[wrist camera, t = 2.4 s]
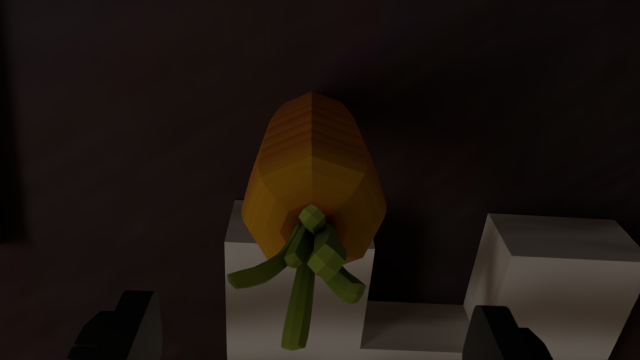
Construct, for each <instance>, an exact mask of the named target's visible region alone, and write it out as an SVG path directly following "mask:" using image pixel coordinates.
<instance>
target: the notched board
mask: <svg viewBox="0 0 640 360" xmlns="http://www.w3.org/2000/svg"><path fill="white" fill-rule="evenodd" d="M243 201H244V200H235V202H234V206H233V210H232V214H231V218H230V222H229V227H228V231H227V235H226V239H225V278H226V323H227V360H462V351H463V346H464V342H465V339H466V335H467V331H468V328H469V324H470V320H471V317H472V313H473V310H474V308H475V306H476V305H491V306H507V307H508V308H509V309H510V311H511V313H512V315H513V317H514V319H515V321H516V323H517V325H518V327H523V328H529V329H530V330H531V331H532V332H533V333H534V334H535V335H536V336H538V337H539V338H540V339H541V340H542V341H543V342H544V343H545V345H546V347H547V349H548V351H549V352H550V354H551V356H552V358H553V360H608V358H609V356H610V354H611V351H612V349H613V347H614V345H615V343H616V341H617V339H618V337H619V335H620V333H621V331H622V329H623V327H624V325H625V323H626V320H627V318H628V316H629V314H630V312H631V310H632V308H633V306H634V304H635V302H636V300H637V298H638V296H639V294H640V247H639V246H638V245H637V244H636V243H635V242H634V240H633V239H632V238H631V237H630V236H629V235H628V234H627V233H626V232H625V231H624V230H623V229H622V227H621V226H620V225H619V224H618V223H617V222H616V221H615V220H606V219H587V218H568V217H549V216H531V215H512V214H493V213H488V216H487V219H486V223H485V227H484V230H483V234H482V238H481V241H480V245H479V249H478V253H477V256H476V260H475V264H474V267H473V271H472V275H471V278H470V282H469V286H468V289H467V293H466V297H465V300H464V304H463V305H451V304H429V303H406V302H383V301H367V299H368V292H369V286H370V279H371V272H372V266H373V259H374V253H375V246H374V241H373V240H372V242H371V244H370V246H369V248H368V249H367V251H366V253H365V255H364V257H363V258H361V259H358V260H355V261H353V262H350V263H347V264H344V265H342V266H343V267H344V268H345V269H346V270H347V271H348V272H349V273H351V274H352V275H353V276H355V277H356V278H358V279H359V280H360V281H361V282H363V283H364V284H365V285H366V288H365V291H364V294H363V296H362V297H361V299H360V300H359V301H358V302H357V303H354V304H349V303H346V302H343V301H342V300H341V299H340V298H339V297H337V296H336V295H335V294H334V293H333V292H332V291H331V289H330V288H329V287H328V286H327V284H326V283H325V282H324V280H323V279H322V278H320V277H319V276H317V275H316V274H315V284H314V294H313V304H312V314H311V322H310V329H309V335H308V339H307V343H306V347H305V348H303V349H298V350H294V351H291V350H286V349H283V348H282V347H281V341H282V333H283V328H284V323H285V319H286V314H287V310H288V305H289V301H290V296H291V292H292V288H293V283H294V279H295V274H296V270H297V269H295V268H291V267H288V266H287V267H286V268H285V269H284V270H282V271H281V272H280V273H279V274H278V275H276V276H275V277H273V278H272V279H270V280H269V281H268V282H266V283H263V284H260V285H257V286H253V287H250V288H242V289H235V288H234V287H233V286H232V285H231V284H230V283H229V281H228V278H227V274H230V273H233V272H237V271H240V270H244V269H248V268H252V267H255V266H257V265H259V264H261V263H263V262H265V261H267V258H266V257H265V255H264V254H263V252H262V250H261V249H260V247H259V246H258V244H257V242H256V241H255V239H254V238H253V236H252V234H251V233H250V231H249V230H248V228H247V226H246V225H245V223H244V222H243V219H242V216H241V209H242V205H243Z"/></svg>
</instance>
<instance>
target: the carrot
mask: <svg viewBox="0 0 640 360" xmlns="http://www.w3.org/2000/svg"><path fill="white" fill-rule="evenodd" d="M386 211H387V210H386V202H385V199H384V195H383V192H382V188H381V185H380V181H379V178H378V175H377V172H376V170H375V167H374V164H373V161H372V158H371V156H370V153H369V151H368V149H367V147H366V144H365V142H364V140H363V138H362V135H361V133H360V131H359V129H358V126H357V124H356V122H355V119H354V118H353V116H352V115H351V114H350V112H349V111H348V109H347V108H346V107H345V106H344V105H343V104H342V103H341V102H340V101H337V100H335V99H332V98H329V97H326V96H324V95H321V94H318V93H315V92H313V91H311V92H309V93H307V94H304V95H302V96H300V97H297V98H295V99H293V100H290V101H288V102H286V103H284V104H283V105H282V106H281V107H280V108H279V109H278V111H277V112H276V113H275V115H274V116H273V118H272V119H271V120H270V123H269V125H268V128H267V131H266V134H265V136H264V139H263V142H262V145H261V147H260V150H259V153H258V156H257V158H256V161H255V164H254V167H253V170H252V173H251V176H250V179H249V183H248V186H247V190H246V194H245V198H244V201H243V205H242V209H241V216H242V219H243V222H244V223H245V225H246V226H247V228H248V230H249V231H250V233H251V234H252V236H253V238H254V239H255V241H256V242H257V244H258V246H259V247H260V249H261V250H262V252H263V254H264V255H265V257H266V258H267V261H265V262H263V263H261V264H259V265H257V266H255V267H252V268H248V269H244V270H240V271H237V272H233V273H230V274H227V278H228V281H229V283H230V284H231V285H232V286H233V287H234V288H235V289H242V288H250V287H253V286H257V285H260V284H263V283H266V282H268V281H269V280H270V279H272V278H273V277H275V276H276V275H278V274H279V273H280V272H281V271H282V270H284V269H285V268H286V267H287V266H288V267H291V268H295V269H297V270H296V274H295V279H294V283H293V288H292V292H291V296H290V301H289V305H288V310H287V314H286V319H285V323H284V328H283V333H282V341H281V347H282V348H283V349H286V350H291V351H294V350H298V349H303V348H305V347H306V343H307V339H308V335H309V329H310V322H311V314H312V304H313V294H314V284H315V274H316V275H317V276H319V277H320V278H322V279H323V280H324V282H325V283H326V284H327V286H328V287H329V288H330V289H331V291H332V292H333V293H334V294H335V295H336V296H337V297H339V298H340V299H341V300H342V301H343V302H346V303H349V304H354V303H357V302H358V301H359V300H360V299H361V297H362V296H363V294H364V291H365V288H366V285H365V284H364V283H363V282H361V281H360V280H359V279H358V278H356V277H355V276H353V275H352V274H351V273H349V272H348V271H347V270H346V269H345V268H344V267H343V266H342V265H344V264H347V263H350V262H353V261H355V260H358V259H361V258H363V257H364V255H365V253H366V251H367V249H368V248H369V246H370V244H371V242H372V240H373V238H374V236H375V234H376V232H377V230H378V229H379V227H380V225H381V223H382V221H383V219H384V217H385V214H386Z"/></svg>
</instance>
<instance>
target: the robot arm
mask: <svg viewBox="0 0 640 360" xmlns="http://www.w3.org/2000/svg"><path fill="white" fill-rule="evenodd" d="M162 343H163V336H162V326H161V317H160V307H159V298H158V293H157V292H156V291H131V290H126V291H124V293H123V294H122V296H121V298H120V300H119V302H118V305H117V307H116V309H115V311H100V312H99V313H98V314H97V315H95V316H94V317H93V318H92V319H91V320H90V321H89V322H88V323H86V324H85V325H84V326H83V328H82V330H81V332H80V334H79V336H78V338H77V340H76V341H75V343H74V347H72V349H71V351H70V353H69V355H68V357H67V360H160V358H161V353H162ZM462 360H553V358H552V356H551V354H550V352H549V351H548V349H547V347H546V345H545V343H544V342H543V341H542V340H541V339H540V338H539V337H538V336H536V335H535V334H534V333H533V332H532V331H531V330H530V329H529V328H523V327H518V325H517V323H516V321H515V319H514V317H513V315H512V313H511V311H510V309H509V308H508V307H507V306H491V305H476V306H475V308H474V310H473V313H472V317H471V320H470V324H469V328H468V331H467V335H466V339H465V342H464V346H463V351H462Z"/></svg>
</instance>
